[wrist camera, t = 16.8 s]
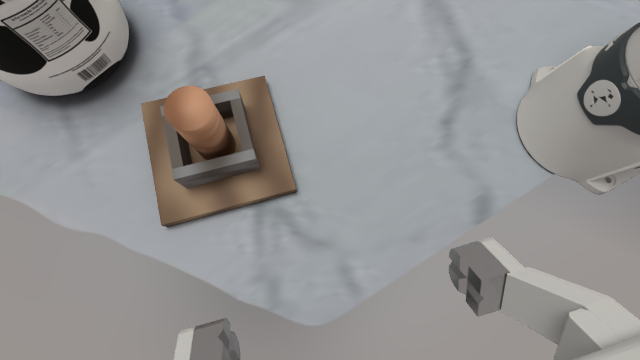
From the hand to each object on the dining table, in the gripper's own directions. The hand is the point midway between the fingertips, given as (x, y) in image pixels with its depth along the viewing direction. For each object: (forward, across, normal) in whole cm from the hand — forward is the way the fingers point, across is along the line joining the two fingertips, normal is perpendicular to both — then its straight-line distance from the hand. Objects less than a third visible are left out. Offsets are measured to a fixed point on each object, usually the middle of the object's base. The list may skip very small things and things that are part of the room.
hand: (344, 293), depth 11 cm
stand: (+32, +8, +6) cm, 34 cm away
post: (+31, +8, +6) cm, 33 cm away
